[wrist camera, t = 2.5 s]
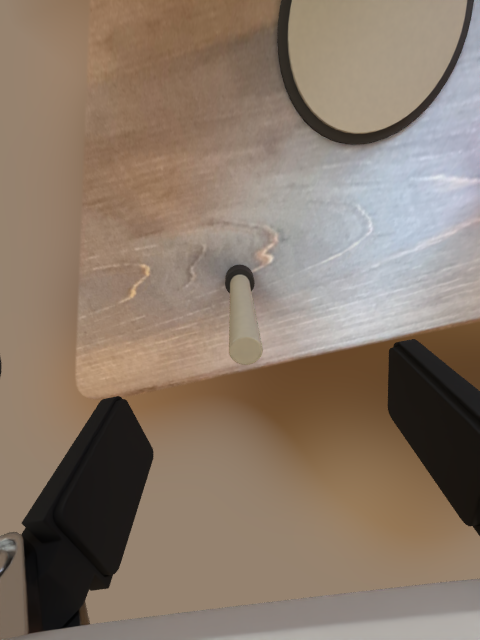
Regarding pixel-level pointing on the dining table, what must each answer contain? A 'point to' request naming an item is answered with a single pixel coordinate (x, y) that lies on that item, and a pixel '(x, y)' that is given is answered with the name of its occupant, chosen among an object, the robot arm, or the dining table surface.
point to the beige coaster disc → (368, 61)
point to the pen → (242, 317)
